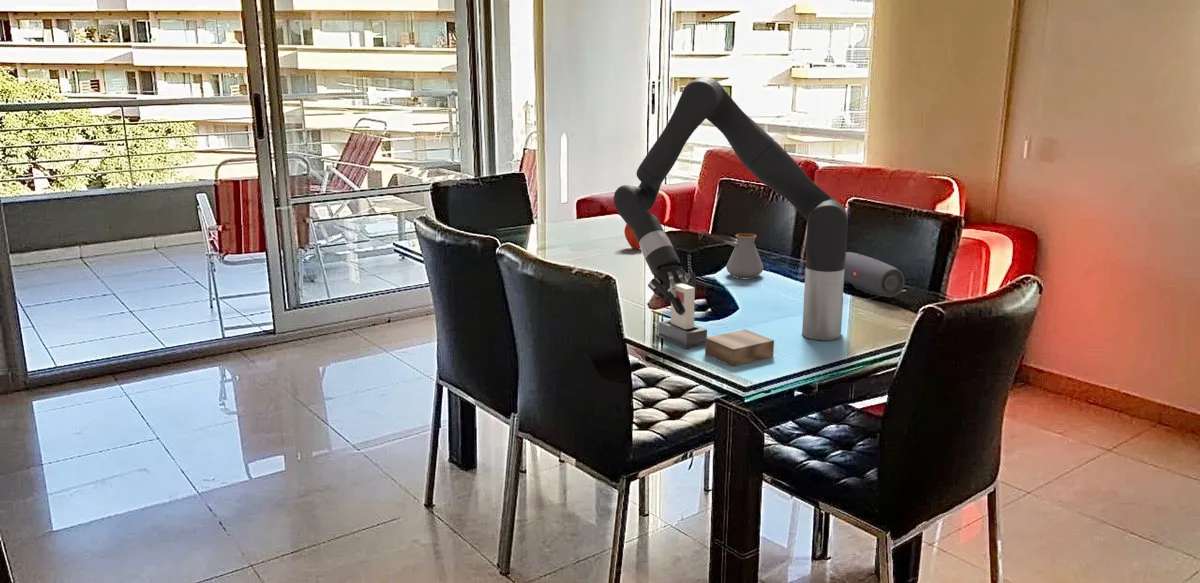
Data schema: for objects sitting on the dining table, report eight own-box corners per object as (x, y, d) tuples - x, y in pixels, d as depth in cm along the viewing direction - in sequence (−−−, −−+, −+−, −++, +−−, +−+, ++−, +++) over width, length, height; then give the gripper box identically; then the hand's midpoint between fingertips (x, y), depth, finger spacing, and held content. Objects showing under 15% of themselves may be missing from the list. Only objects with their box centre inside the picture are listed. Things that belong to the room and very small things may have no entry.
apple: (637, 252, 320) (637, 222, 318) (619, 249, 326) (618, 219, 323) (653, 248, 327) (653, 218, 324) (634, 245, 332) (635, 215, 329)
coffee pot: (752, 270, 295) (754, 224, 291) (769, 278, 284) (771, 230, 280) (690, 275, 288) (691, 228, 284) (705, 284, 278) (707, 235, 274)
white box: (679, 321, 228) (679, 282, 226) (693, 327, 223) (694, 287, 221) (670, 323, 227) (671, 283, 224) (685, 329, 222) (686, 289, 219)
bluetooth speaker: (831, 283, 278) (833, 251, 275) (858, 281, 280) (861, 249, 278) (876, 303, 257) (879, 268, 254) (905, 300, 260) (907, 265, 257)
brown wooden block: (744, 345, 222) (745, 329, 221) (773, 356, 213) (774, 340, 212) (705, 354, 216) (705, 337, 215) (732, 366, 207) (733, 349, 206)
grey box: (679, 331, 233) (679, 317, 232) (709, 344, 223) (710, 329, 222) (655, 335, 229) (655, 321, 228) (685, 349, 219) (685, 334, 218)
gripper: (641, 247, 223) (670, 308, 216) (688, 241, 230) (718, 300, 223) (629, 264, 229) (657, 324, 222) (675, 258, 236) (703, 315, 229)
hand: (687, 312), depth 222 cm, fingers closed on white box, 2 cm apart
